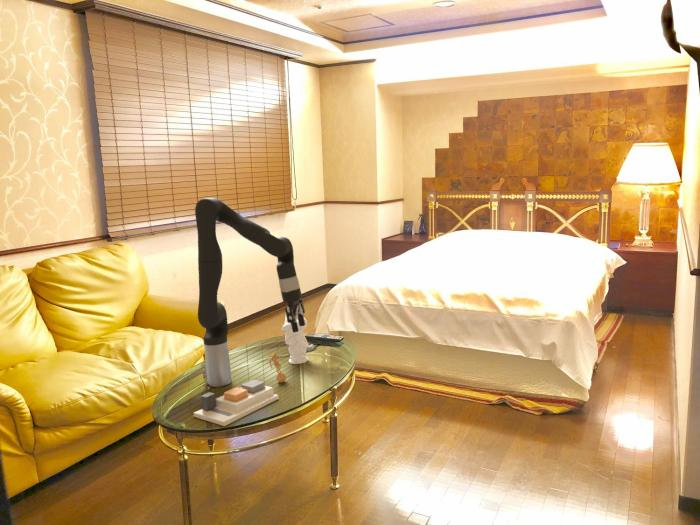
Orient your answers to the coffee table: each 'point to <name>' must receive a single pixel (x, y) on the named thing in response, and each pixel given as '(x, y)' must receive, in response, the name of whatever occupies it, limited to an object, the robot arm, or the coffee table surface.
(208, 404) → the dark grey block
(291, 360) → the cherub figurine
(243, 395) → the orange button
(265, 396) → the control panel
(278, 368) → the figurine
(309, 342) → the walkie-talkie
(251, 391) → the grey button
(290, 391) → the coffee table surface
